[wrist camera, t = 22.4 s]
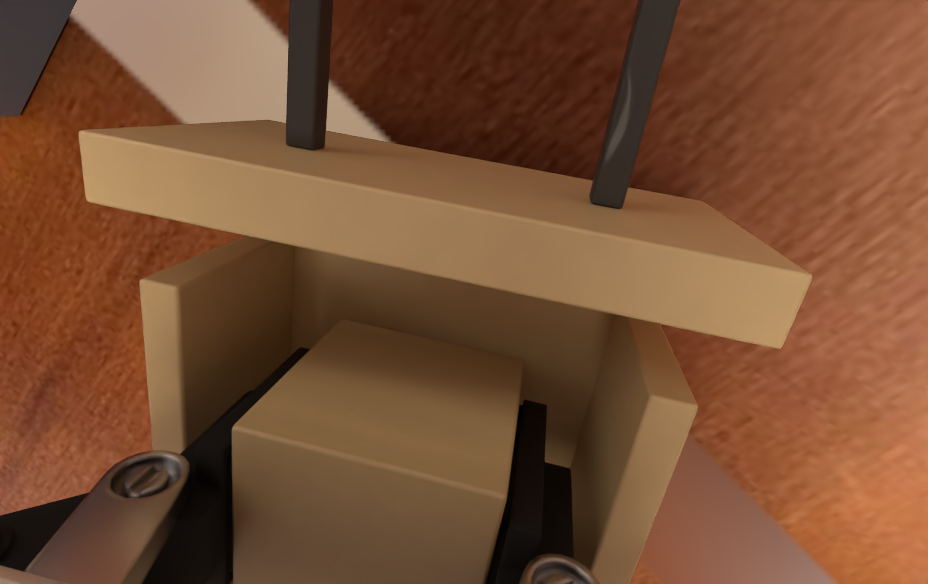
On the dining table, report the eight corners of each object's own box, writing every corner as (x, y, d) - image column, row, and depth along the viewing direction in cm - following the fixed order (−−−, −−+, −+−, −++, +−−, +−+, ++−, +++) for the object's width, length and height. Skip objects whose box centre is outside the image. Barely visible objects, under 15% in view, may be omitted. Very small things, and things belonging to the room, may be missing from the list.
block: (341, 317, 12) (229, 426, 8) (525, 359, 12) (507, 497, 8) (329, 466, 14) (231, 619, 10) (490, 507, 13) (460, 688, 9)
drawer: (270, -173, 11) (12, -423, 6) (808, -106, 10) (1091, -344, 5) (260, 506, 19) (138, 670, 13) (573, 592, 17) (579, 810, 12)
